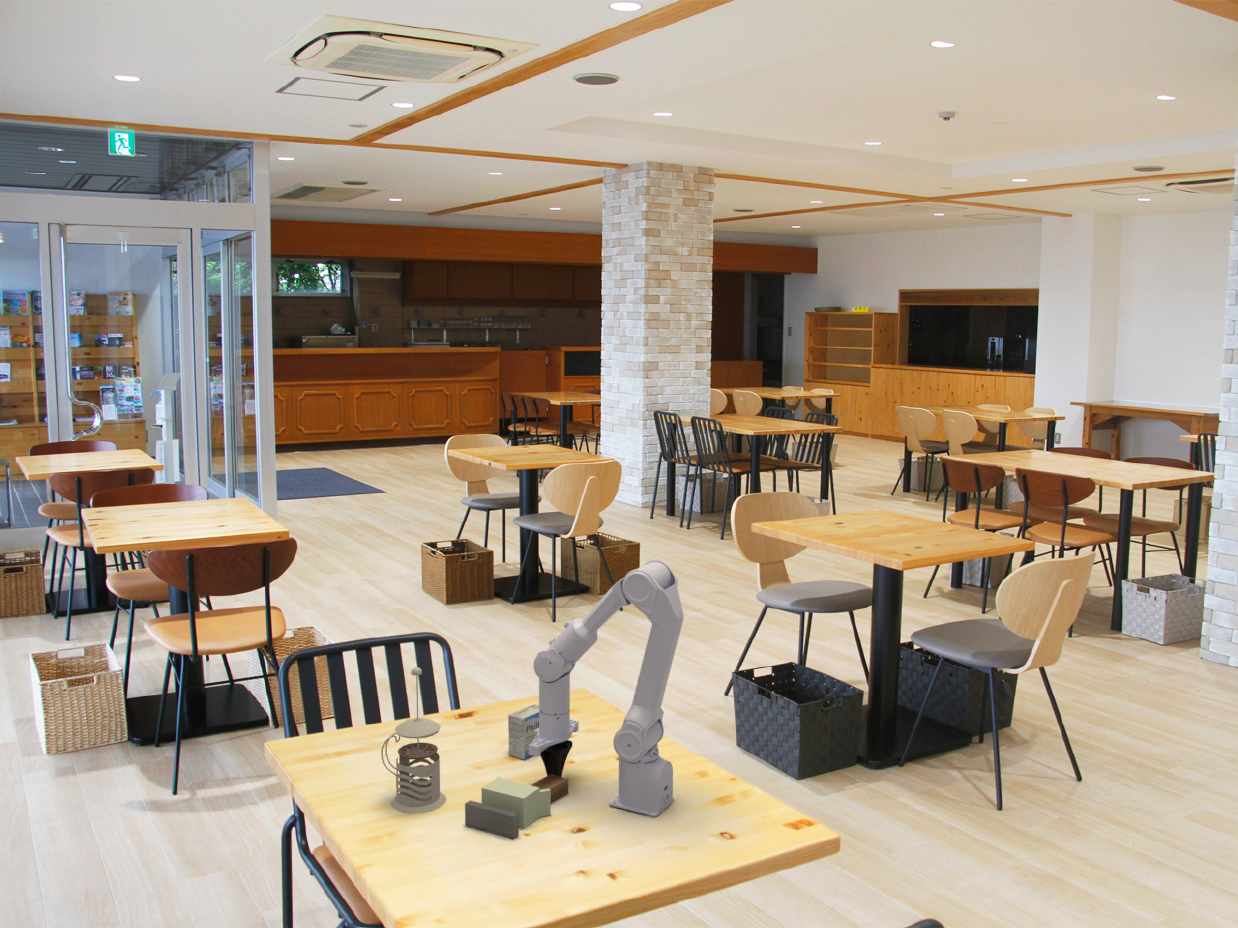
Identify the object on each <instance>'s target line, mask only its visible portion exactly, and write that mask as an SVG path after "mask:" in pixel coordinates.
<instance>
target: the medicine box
mask: <svg viewBox="0 0 1238 928" xmlns="http://www.w3.org/2000/svg"><path fill="white" fill-rule="evenodd" d="M507 718H508V719H507V720H508V721H507V722H508V723H507V724H508V725H507V727H508V755H509V756H511V757H515V758H518V759H521V760H524V761H526V760H529V759H530V758H532V757H533V756H532V755H529V744H531V743H532V742H533V740H534V739H535V737H536V735H537V734H534V730H535V729H537V728H539V704H533V705H530V706H528V707H525V708H523V709H522V708H521V709H520V710H517V711H515V712H512V713H509V714H508V716H507Z"/></svg>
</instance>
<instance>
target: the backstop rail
mask: <svg viewBox="0 0 1238 928" xmlns="http://www.w3.org/2000/svg"><path fill="white" fill-rule="evenodd" d="M464 817H465V818H464V819H465V820H464V824H465V827H469V828H471V829H475V830H479V831H483V832H486V833H490V834H494V835H498V836H501V837H504V838H507V839H512V840H515V839H516V838H518V837H519V836H520V834H519V833H520V832H519V831H520V830H519V829H520V828H519V813H516V812H513V811H509V810H505V809H501V808H497V807H494V806H490V805H486V804H482V802H477V801H473V800H468V801H467V802H466V803H464Z"/></svg>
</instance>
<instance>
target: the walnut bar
mask: <svg viewBox="0 0 1238 928" xmlns="http://www.w3.org/2000/svg"><path fill="white" fill-rule="evenodd" d="M530 785H531V786H535V787H539V788H540V790H543V789H550V790H551V804H553V803H555V802H557V801H559V800H561V799H562V798H564V797H566V796H568V795H569V778H565V777H563V776H561V777H560V776H557V775H554V774H550V775H548V776H547V775H546V776H545V777H543V778H541V779H539V780H537V781H535V782H533V783H532V784H530Z"/></svg>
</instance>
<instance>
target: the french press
mask: <svg viewBox="0 0 1238 928" xmlns="http://www.w3.org/2000/svg"><path fill="white" fill-rule="evenodd" d="M422 674H423V670H422V668H420V667H418V666H417V667H413V668H412V669H411V675H412V676H415V677H416V678H415V679H416V680H415V681H416V684H415V686H416V689H415V690H416V717H415V718H411V719H406V720H405V721H403V722H401V723H400V724H398V725H396V726H395V728H394V733H392V734H391V735H390V736H389V737H387V739H386V740H384V742H383V745H382V747H381V750H380V751H381V752H380V753H381V760H382V763H383V765H384V767H385V768H386V770H387V771H388V772H389V773H391V774H392V775H394V776H395V789H396V790H395V791H396V795H395V796H394V799H393V798H392V800H393V801H392V800H391V802H392V803H390V805H391V806H392V809H394V810H397V811H398V812H401V813H405V814H423V813H429V812H432V811H434V810H438V809H439V808H441V807H442V806H443V805H445V803H446V801H447V798H446V796H445V794H444V793H442V792H441V772H440V771H441V763H440V762H441V761H440V758H441V757H440V755H439V753H438V750H439V748H438V746H437V745H436V744H433V743H430V742H425V741H424V742H422V741H419V739H426V738H430V737H433V736H435V735H436V734H439V731H440V729H441V728H442V727H441V726H440V724H439V723H438V722H436V721H434V720H432V719H429V718H425V717H419V691H418V688H419V687H418V686H419V685H418V682H419V681H418V676H421V675H422ZM396 735H397V736H398V740H397V736H396ZM392 738H394V740H395V744H396V743H398V742H399V741H400V740H401V738H404V739H405V738H406V739H416V741H417V742H410V743H407V744H404V745H402V746H401V747H399V748H398V750H397V754H398V757H397V758H396V759H395V760H396V761H395V762H396V764H395V766H394V765H393V764H392V763H391V762H390V759H389V757H388V750H387V749H388V744H389V741H390V739H392ZM384 746H385V747H384ZM384 749H385V750H384ZM384 751H385V758H386V760H387V762H388V763H387V764H389V766H390V767H392V768H393V769H394V770H396V771H395V772H393V771H392V770H390V768H388V767H387V765H386V763H385V760H384V759H385V758H384ZM398 758H399V759H398ZM428 758H429V759H430V760H431V761H432V762H431V761H430V760H428ZM398 760H399V762H398ZM410 760H411V761H410ZM421 762H422V763H426V764H427V765H425V764H419V765H415V764H418V763H421ZM413 765H415V766H413ZM415 777H418V778H416V779H415ZM427 778H429V779H427Z"/></svg>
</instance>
